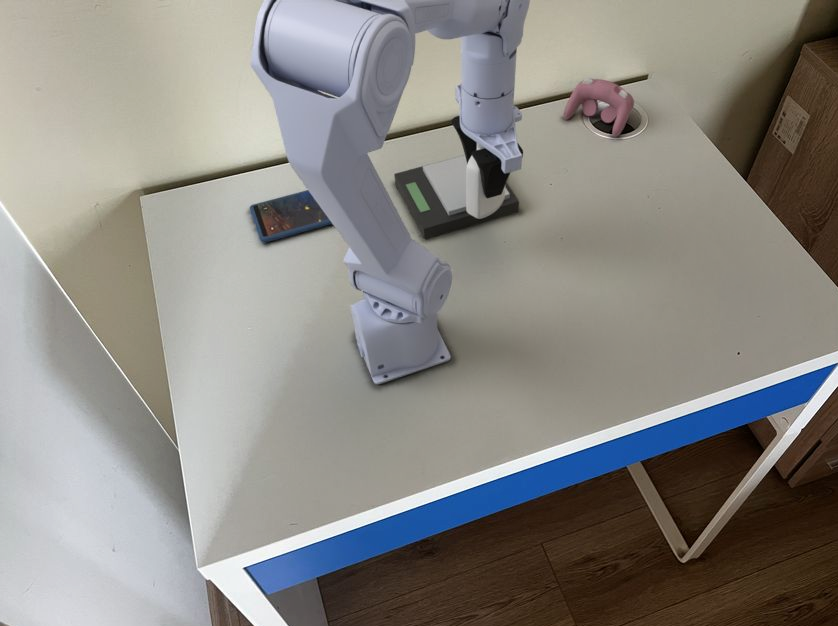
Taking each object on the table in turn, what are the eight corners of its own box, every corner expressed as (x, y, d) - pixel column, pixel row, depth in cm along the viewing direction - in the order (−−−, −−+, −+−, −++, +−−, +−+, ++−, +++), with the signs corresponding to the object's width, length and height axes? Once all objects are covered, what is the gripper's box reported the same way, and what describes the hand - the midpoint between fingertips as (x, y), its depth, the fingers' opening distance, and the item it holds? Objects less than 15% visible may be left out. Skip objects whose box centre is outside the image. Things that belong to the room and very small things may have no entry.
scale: (424, 239, 95) (423, 224, 93) (395, 184, 101) (393, 169, 99) (518, 211, 98) (519, 196, 96) (484, 160, 104) (484, 144, 102)
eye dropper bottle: (512, 211, 88) (518, 131, 79) (471, 222, 87) (471, 143, 78) (499, 189, 91) (503, 109, 81) (458, 200, 90) (457, 120, 80)
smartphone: (248, 204, 98) (352, 177, 101) (249, 209, 98) (352, 181, 101) (260, 241, 93) (368, 211, 97) (261, 245, 94) (368, 215, 97)
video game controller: (625, 136, 110) (641, 91, 107) (616, 139, 106) (633, 92, 103) (569, 116, 113) (583, 71, 110) (559, 118, 109) (573, 72, 106)
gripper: (551, 113, 72) (540, 212, 83) (495, 40, 80) (492, 139, 91) (488, 129, 70) (485, 228, 81) (437, 53, 78) (441, 153, 89)
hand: (485, 182), depth 86 cm, fingers closed on eye dropper bottle, 4 cm apart
